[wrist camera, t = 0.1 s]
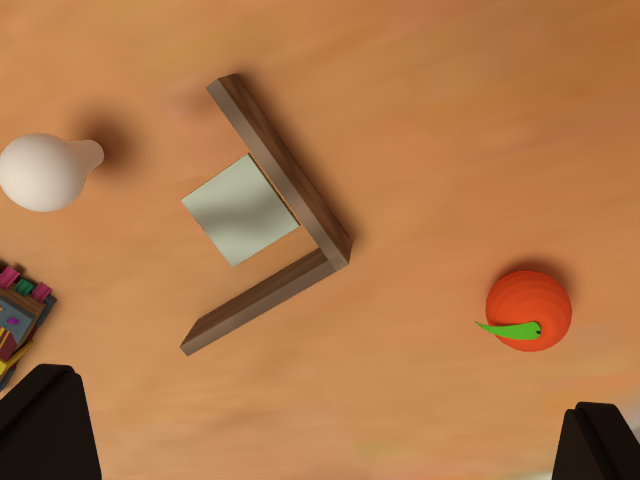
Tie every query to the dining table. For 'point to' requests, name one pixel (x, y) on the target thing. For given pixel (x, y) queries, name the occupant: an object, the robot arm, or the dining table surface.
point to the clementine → (528, 311)
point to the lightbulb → (47, 170)
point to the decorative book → (19, 318)
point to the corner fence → (260, 217)
